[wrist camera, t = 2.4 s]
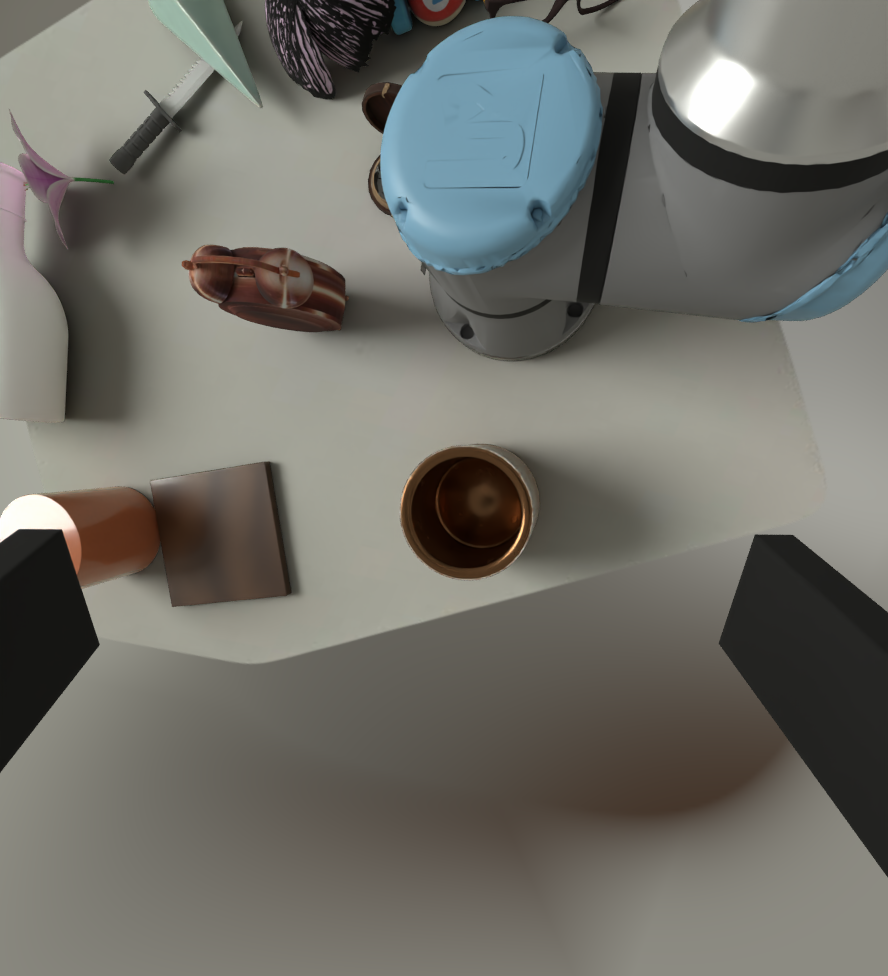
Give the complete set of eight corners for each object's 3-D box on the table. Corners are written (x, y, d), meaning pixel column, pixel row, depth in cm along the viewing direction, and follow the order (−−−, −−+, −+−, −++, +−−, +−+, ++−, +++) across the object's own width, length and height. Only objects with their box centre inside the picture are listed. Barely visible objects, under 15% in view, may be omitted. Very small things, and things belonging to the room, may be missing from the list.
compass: (365, 214, 51) (333, 176, 44) (382, 127, 50) (353, 74, 43) (444, 227, 49) (424, 190, 42) (464, 138, 48) (447, 85, 41)
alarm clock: (367, 290, 51) (290, 228, 37) (362, 340, 52) (284, 299, 37) (266, 282, 54) (156, 221, 39) (262, 331, 54) (152, 289, 39)
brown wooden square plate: (269, 461, 55) (264, 461, 54) (291, 593, 56) (286, 595, 55) (156, 479, 58) (149, 480, 57) (178, 604, 59) (171, 607, 58)
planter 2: (273, 163, 56) (189, 19, 56) (297, 111, 52) (205, -46, 52) (203, 158, 51) (110, -1, 51) (222, 99, 46) (120, -76, 46)
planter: (549, 547, 49) (547, 571, 40) (438, 564, 52) (412, 590, 43) (528, 433, 49) (520, 430, 40) (417, 456, 51) (385, 458, 42)
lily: (70, 131, 58) (-42, 113, 51) (119, 111, 51) (-2, 88, 44) (100, 250, 63) (1, 249, 56) (148, 246, 56) (43, 245, 49)
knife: (264, 47, 52) (233, 12, 53) (252, 28, 50) (219, -9, 50) (137, 189, 55) (109, 155, 56) (120, 176, 53) (90, 141, 53)
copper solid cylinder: (152, 480, 58) (70, 487, 48) (168, 569, 59) (90, 594, 49) (79, 492, 60) (-14, 501, 51) (94, 578, 61) (5, 603, 51)
